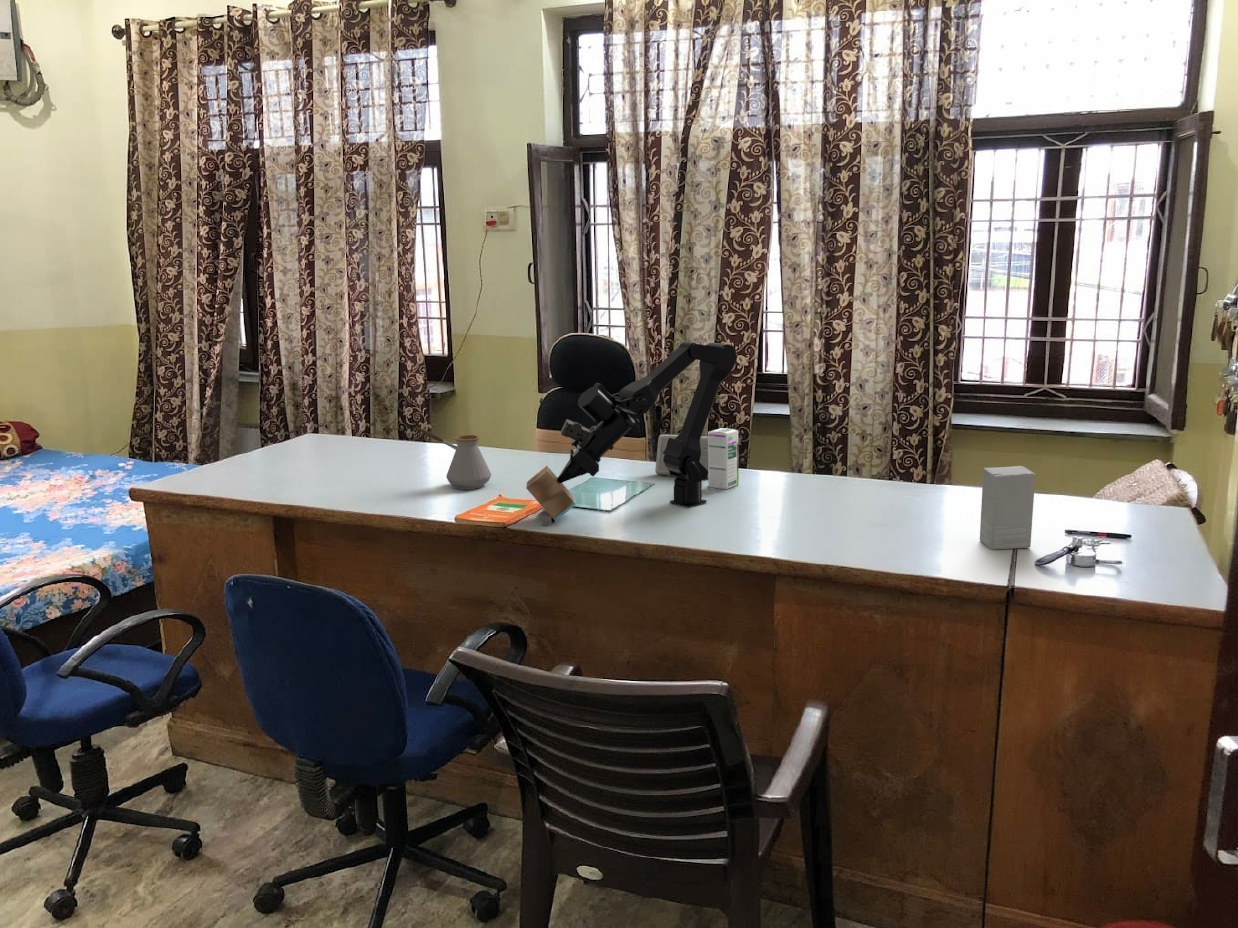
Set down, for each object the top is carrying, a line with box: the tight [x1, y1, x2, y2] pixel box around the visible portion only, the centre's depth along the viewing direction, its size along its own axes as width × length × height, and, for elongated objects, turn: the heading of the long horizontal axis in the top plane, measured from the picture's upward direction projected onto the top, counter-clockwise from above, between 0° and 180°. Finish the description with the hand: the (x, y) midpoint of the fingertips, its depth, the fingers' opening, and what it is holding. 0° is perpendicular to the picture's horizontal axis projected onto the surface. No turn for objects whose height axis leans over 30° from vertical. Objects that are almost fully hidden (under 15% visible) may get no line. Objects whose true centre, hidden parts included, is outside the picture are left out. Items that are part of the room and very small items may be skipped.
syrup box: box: [707, 427, 740, 490], centre depth 248 cm, size 6×6×14 cm
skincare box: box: [979, 465, 1037, 551], centre depth 196 cm, size 8×7×16 cm
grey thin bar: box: [541, 506, 552, 527], centre depth 222 cm, size 2×12×1 cm, turn 4°
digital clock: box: [654, 433, 708, 479], centre depth 261 cm, size 16×9×11 cm, turn 59°
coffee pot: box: [412, 426, 492, 490], centre depth 254 cm, size 21×12×15 cm, turn 69°
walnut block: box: [525, 465, 577, 522], centre depth 221 cm, size 6×6×10 cm
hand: (558, 481), depth 221 cm, fingers closed, pressing on walnut block
